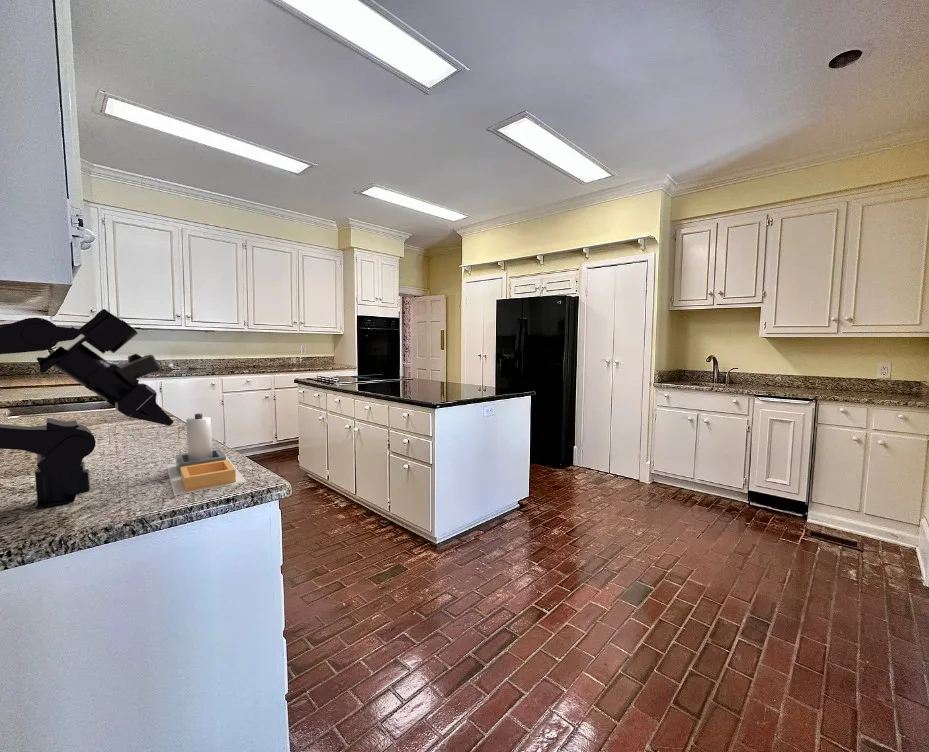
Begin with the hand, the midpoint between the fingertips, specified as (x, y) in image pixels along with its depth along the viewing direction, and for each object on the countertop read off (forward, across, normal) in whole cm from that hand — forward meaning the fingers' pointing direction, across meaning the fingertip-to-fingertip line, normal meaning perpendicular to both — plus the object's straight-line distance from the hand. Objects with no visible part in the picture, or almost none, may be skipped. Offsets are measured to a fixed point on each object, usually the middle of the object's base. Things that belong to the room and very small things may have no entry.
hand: (166, 420), depth 87 cm
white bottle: (+12, 0, +4) cm, 13 cm away
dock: (+12, -6, +5) cm, 14 cm away
